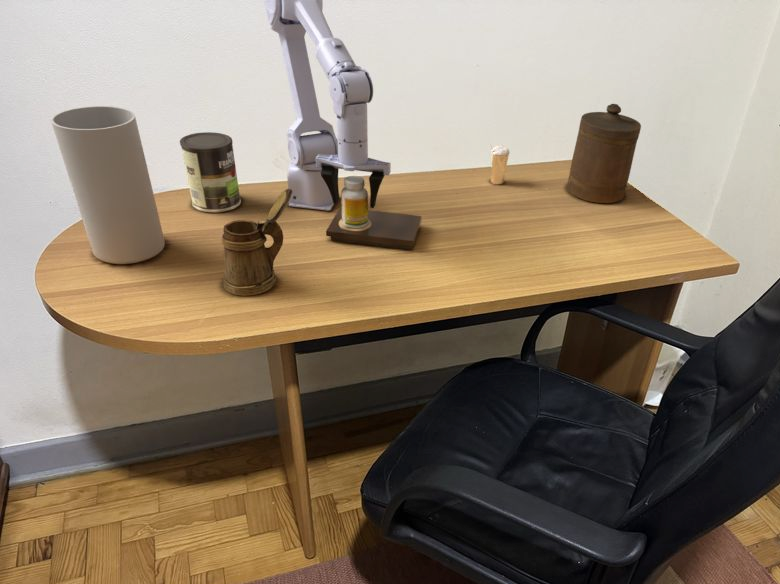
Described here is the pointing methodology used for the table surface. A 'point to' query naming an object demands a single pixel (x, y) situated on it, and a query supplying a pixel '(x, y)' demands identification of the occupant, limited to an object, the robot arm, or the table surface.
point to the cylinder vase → (110, 182)
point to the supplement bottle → (354, 202)
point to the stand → (378, 230)
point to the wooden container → (603, 156)
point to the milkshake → (498, 164)
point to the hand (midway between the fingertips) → (354, 204)
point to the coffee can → (211, 171)
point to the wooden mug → (253, 251)
